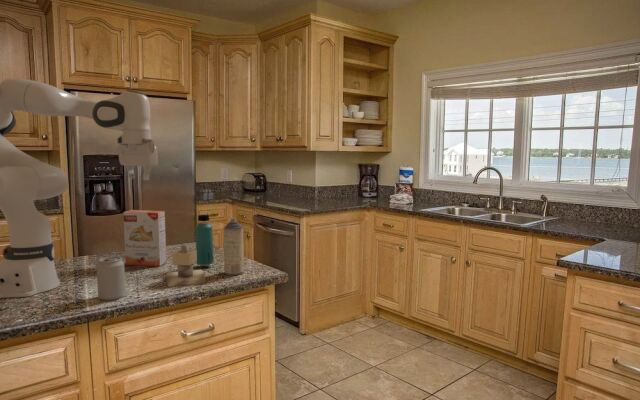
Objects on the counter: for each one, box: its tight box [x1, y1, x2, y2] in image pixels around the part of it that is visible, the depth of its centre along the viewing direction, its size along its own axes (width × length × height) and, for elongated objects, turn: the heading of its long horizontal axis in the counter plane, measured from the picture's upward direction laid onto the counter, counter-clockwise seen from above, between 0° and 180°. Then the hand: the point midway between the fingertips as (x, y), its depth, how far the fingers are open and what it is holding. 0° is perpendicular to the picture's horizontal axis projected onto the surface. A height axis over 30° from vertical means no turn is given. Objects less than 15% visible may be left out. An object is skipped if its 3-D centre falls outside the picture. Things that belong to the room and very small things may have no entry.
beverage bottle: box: [195, 214, 215, 266], centre depth 166 cm, size 6×7×20 cm
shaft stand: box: [166, 244, 207, 288], centre depth 149 cm, size 12×12×12 cm
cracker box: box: [123, 209, 167, 267], centre depth 168 cm, size 14×6×21 cm, turn 83°
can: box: [96, 256, 126, 302], centre depth 131 cm, size 8×8×12 cm
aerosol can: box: [223, 217, 245, 277], centre depth 158 cm, size 7×7×20 cm
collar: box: [171, 248, 197, 266], centre depth 149 cm, size 6×6×4 cm
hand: (138, 179), depth 152 cm, fingers open, 8 cm apart
